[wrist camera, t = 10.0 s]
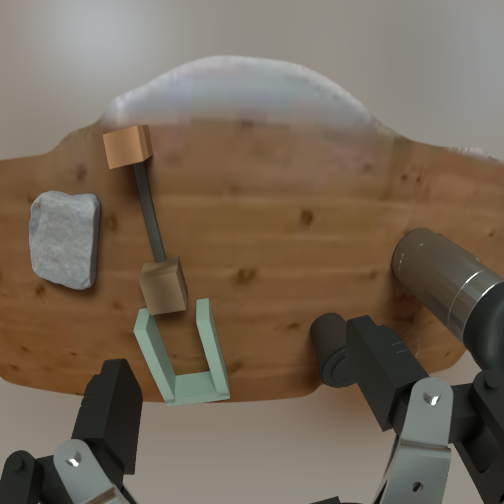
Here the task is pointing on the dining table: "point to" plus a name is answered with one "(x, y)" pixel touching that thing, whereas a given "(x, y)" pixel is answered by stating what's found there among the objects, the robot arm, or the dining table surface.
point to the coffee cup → (331, 350)
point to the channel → (189, 385)
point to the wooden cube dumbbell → (148, 223)
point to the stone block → (65, 238)
